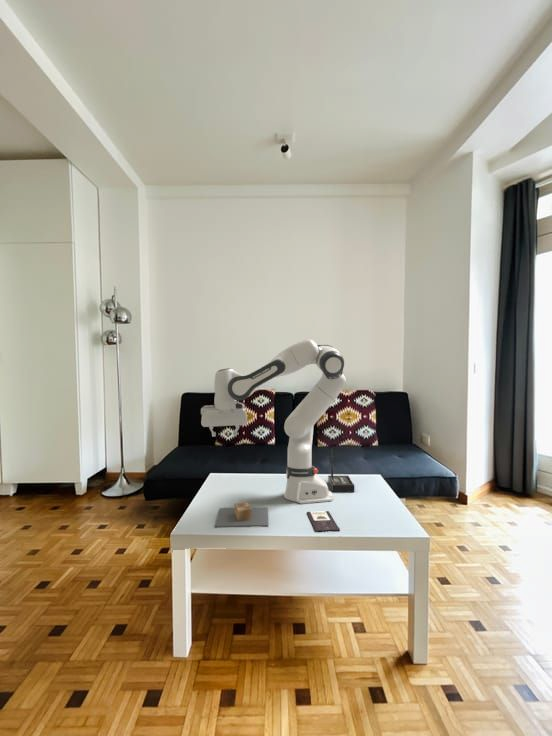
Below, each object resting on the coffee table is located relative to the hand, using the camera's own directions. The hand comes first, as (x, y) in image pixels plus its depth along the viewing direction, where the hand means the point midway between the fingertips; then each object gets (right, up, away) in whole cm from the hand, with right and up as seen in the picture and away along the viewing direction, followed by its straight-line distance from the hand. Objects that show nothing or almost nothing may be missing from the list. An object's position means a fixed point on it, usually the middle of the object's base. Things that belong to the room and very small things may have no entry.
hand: (224, 435), depth 172 cm
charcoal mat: (+10, -29, -18) cm, 36 cm away
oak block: (+11, -27, -23) cm, 37 cm away
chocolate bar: (+41, -30, -23) cm, 55 cm away
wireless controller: (+55, -30, +22) cm, 66 cm away
